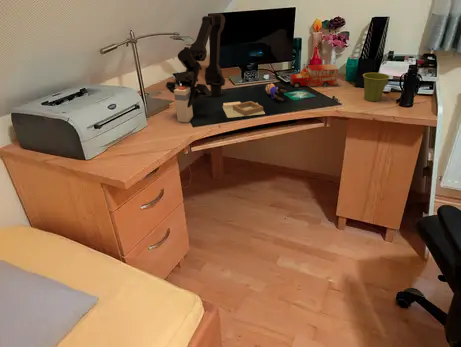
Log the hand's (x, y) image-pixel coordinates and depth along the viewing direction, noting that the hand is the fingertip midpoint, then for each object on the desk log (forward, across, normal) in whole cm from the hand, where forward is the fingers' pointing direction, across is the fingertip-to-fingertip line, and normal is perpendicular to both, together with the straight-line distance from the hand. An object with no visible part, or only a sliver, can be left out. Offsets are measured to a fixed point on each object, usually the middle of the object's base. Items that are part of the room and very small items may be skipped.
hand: (182, 106), depth 150 cm
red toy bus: (-42, +44, +53) cm, 81 cm away
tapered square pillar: (+4, 0, +6) cm, 7 cm away
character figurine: (-23, +30, +33) cm, 51 cm away
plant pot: (-31, +75, +41) cm, 91 cm away
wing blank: (-10, +15, +18) cm, 26 cm away
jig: (-7, +21, +17) cm, 28 cm away
